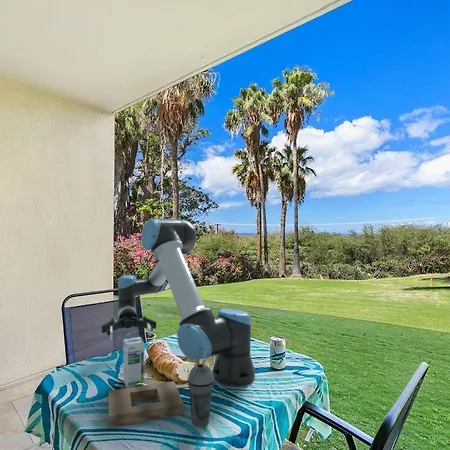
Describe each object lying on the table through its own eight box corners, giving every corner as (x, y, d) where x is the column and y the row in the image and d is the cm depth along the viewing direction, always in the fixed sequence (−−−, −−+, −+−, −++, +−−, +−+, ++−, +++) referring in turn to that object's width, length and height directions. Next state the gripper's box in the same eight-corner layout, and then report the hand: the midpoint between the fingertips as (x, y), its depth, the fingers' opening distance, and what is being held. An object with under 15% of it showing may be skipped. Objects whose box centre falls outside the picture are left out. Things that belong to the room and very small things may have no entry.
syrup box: (126, 388, 108) (126, 344, 108) (122, 380, 113) (123, 338, 113) (143, 384, 111) (144, 341, 110) (139, 377, 116) (140, 335, 116)
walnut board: (174, 390, 107) (174, 381, 107) (183, 414, 94) (183, 403, 94) (108, 400, 101) (108, 390, 101) (108, 427, 88) (108, 416, 88)
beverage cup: (187, 414, 94) (188, 344, 94) (213, 413, 95) (214, 343, 94) (186, 431, 87) (187, 354, 87) (214, 429, 87) (215, 354, 87)
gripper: (157, 323, 145) (165, 340, 125) (96, 328, 137) (94, 347, 117) (157, 306, 145) (165, 321, 125) (96, 310, 137) (94, 326, 117)
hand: (131, 334), depth 121 cm, fingers open, 13 cm apart
